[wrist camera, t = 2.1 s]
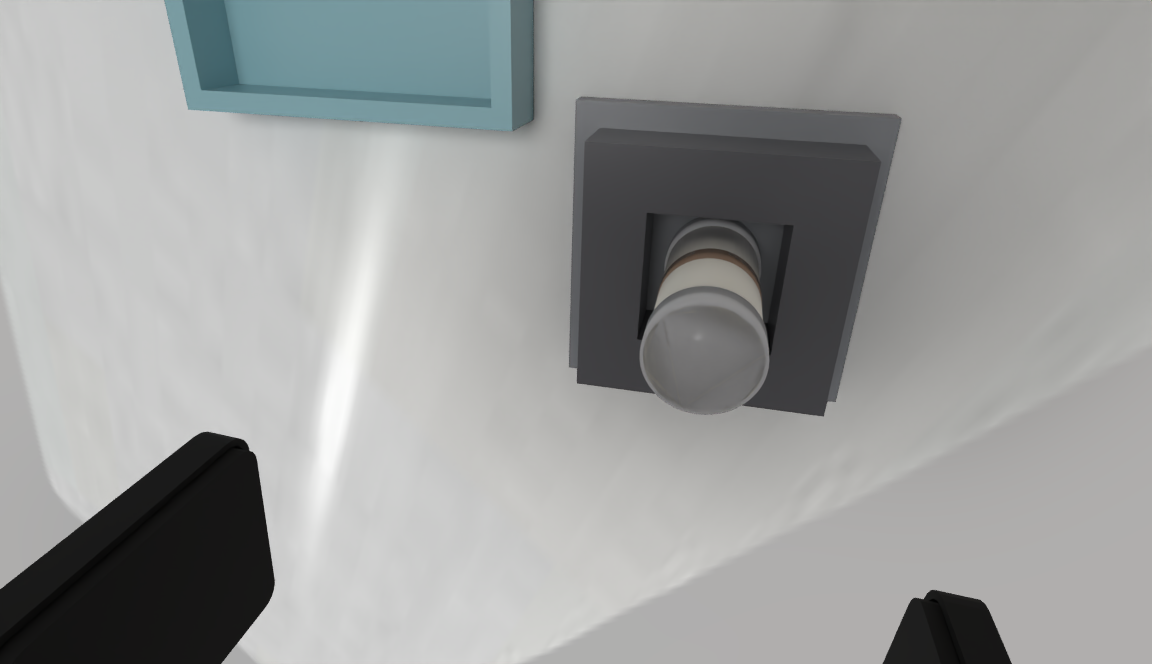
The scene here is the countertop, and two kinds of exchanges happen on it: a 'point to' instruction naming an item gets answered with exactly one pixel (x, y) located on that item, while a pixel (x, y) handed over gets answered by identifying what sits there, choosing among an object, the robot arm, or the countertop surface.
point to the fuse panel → (732, 192)
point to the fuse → (708, 320)
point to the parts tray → (359, 59)
